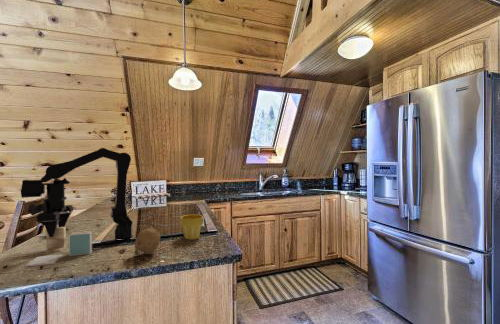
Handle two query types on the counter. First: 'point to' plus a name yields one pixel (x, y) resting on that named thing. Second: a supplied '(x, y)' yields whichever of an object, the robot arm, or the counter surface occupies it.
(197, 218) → the plant pot
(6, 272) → the counter surface
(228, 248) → the counter surface
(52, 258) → the rest mat
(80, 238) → the tile
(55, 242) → the tan upright block
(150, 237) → the natural sponge
